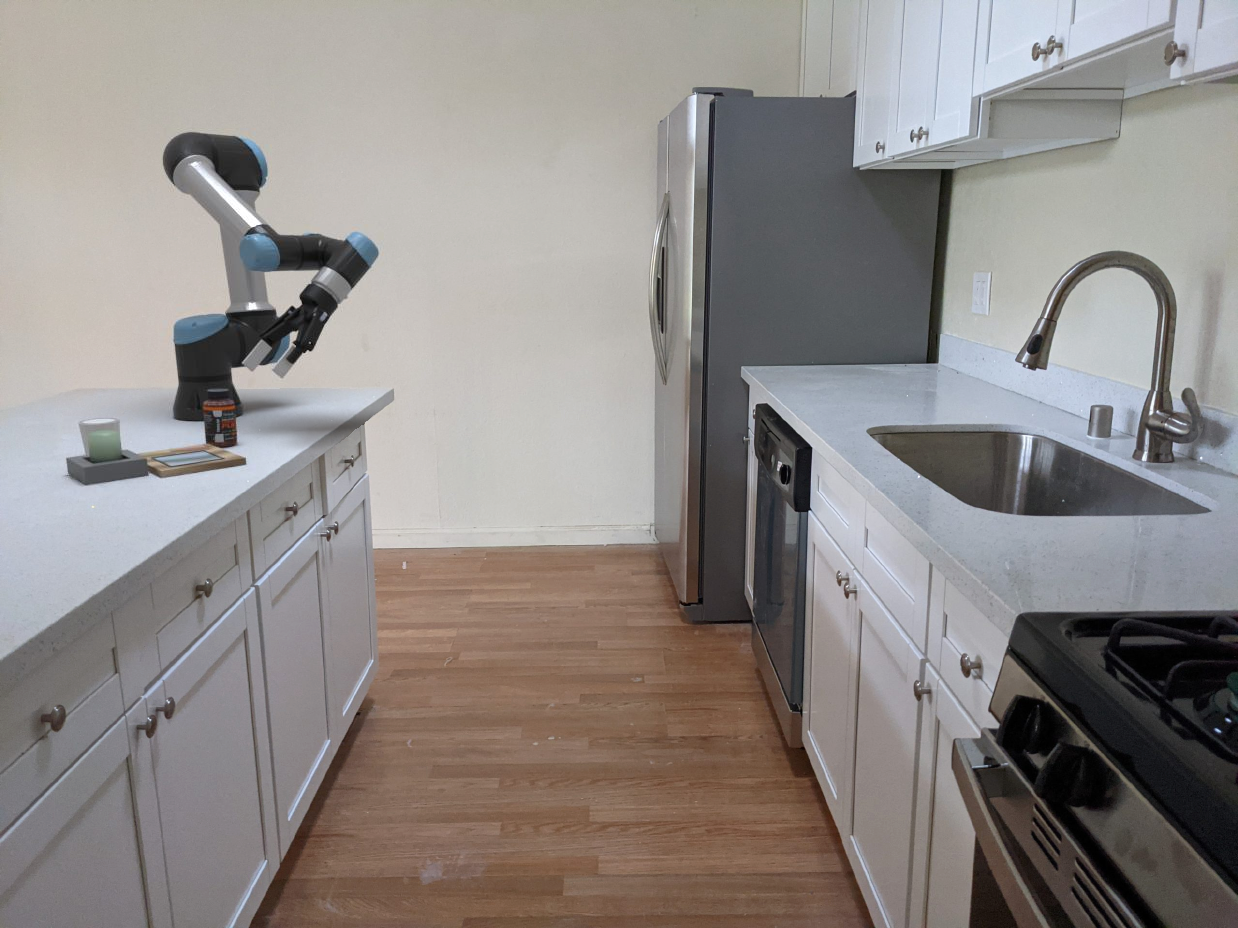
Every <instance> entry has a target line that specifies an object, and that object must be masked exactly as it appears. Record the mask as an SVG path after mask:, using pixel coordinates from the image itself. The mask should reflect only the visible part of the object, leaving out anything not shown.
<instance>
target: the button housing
mask: <svg viewBox="0 0 1238 928" xmlns="http://www.w3.org/2000/svg"><path fill="white" fill-rule="evenodd" d="M138 454H139V453H136V452H133V451H131V450H129V449H122V457H123V460H116V461H109V462H102V463H95V464H93V463H91V462H90V455H86V454H84V455H77V456H70V457H69V456H68V457H66V459H65V461H66V468H67V474H69V476H70V477H72V478H74V479H75V478H76V480H77V481H79V482H80V483H82V484H84V485H85V486H88V485H92V484H100V483H106V482H107V481H108V482H112V481H113V482H115V481H119V480H126V479H131V478H133V479H134V478H139V477H138V476H140V477H145V476H144V475H146V476H149V471H148V465H147V458H145V457H142V456H140V455H138Z"/></svg>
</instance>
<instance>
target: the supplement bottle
mask: <svg viewBox="0 0 1238 928" xmlns="http://www.w3.org/2000/svg"><path fill="white" fill-rule="evenodd" d="M207 396H208V398H207V400H206V401H205V402H204V403H203V413H204V420H203V423H204V436H205V444H211V445H213V446H216V447H218V448H225V447H233V446H235V445H237V443H238V430H237V416H236V414H235V403H234V401H233V400H231V398H230V397H229V390H228V389H209V390H207Z"/></svg>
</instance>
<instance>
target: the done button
mask: <svg viewBox="0 0 1238 928" xmlns="http://www.w3.org/2000/svg"><path fill="white" fill-rule="evenodd" d="M120 433H121V431H120V432H119V431H116V430H104V431H95V432H90V433H88V434H87V439H88V447H89V455H90V462H91V463H93V464H95V463H102V462H109V461H116V460H123V457H122V450H123V449H122V441H121V434H120Z"/></svg>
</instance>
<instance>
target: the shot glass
mask: <svg viewBox="0 0 1238 928" xmlns="http://www.w3.org/2000/svg"><path fill="white" fill-rule="evenodd" d="M120 422H121V420H120V419H119V418H115V417H114V418H113V417H99V418H91V419H89V418H88V419H85V420H79V421H78V423H77V424H78V427H79V431H80V435H81V436H80V437H81V439H82V444H83V448H84V453H85V454H84V455H89V447H88V439H87V434H88V433H90V432H95V431H104V430H116V431H119V432H120V433H121V431H120V430H121V428H120V427H121V425H120Z"/></svg>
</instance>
